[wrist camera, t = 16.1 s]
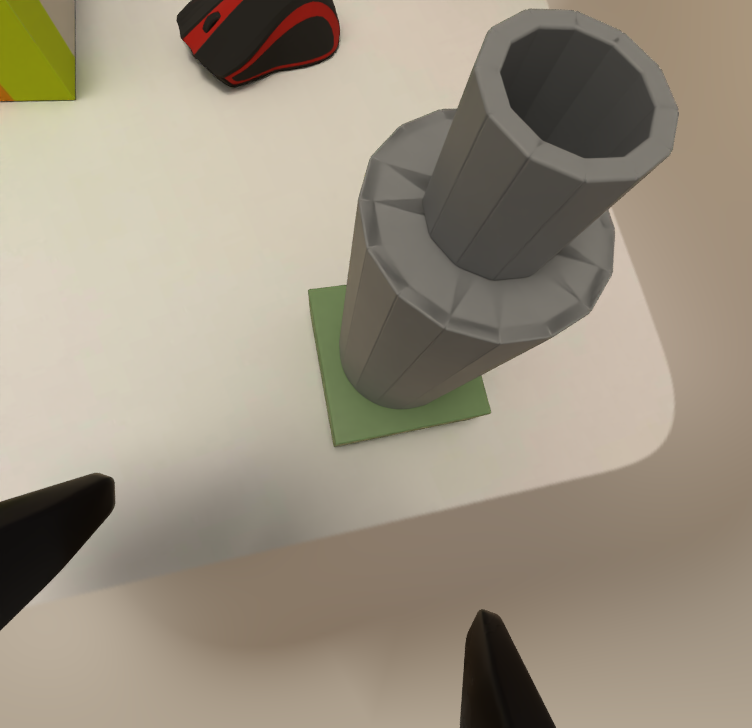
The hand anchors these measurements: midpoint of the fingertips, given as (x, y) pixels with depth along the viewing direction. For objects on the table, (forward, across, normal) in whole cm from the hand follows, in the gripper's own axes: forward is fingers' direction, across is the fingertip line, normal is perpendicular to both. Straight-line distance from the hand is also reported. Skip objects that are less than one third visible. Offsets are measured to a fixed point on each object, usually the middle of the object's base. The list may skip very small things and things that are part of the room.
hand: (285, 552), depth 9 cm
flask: (+12, -1, -2) cm, 12 cm away
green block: (+14, 0, 0) cm, 14 cm away
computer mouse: (+24, +15, -16) cm, 33 cm away
